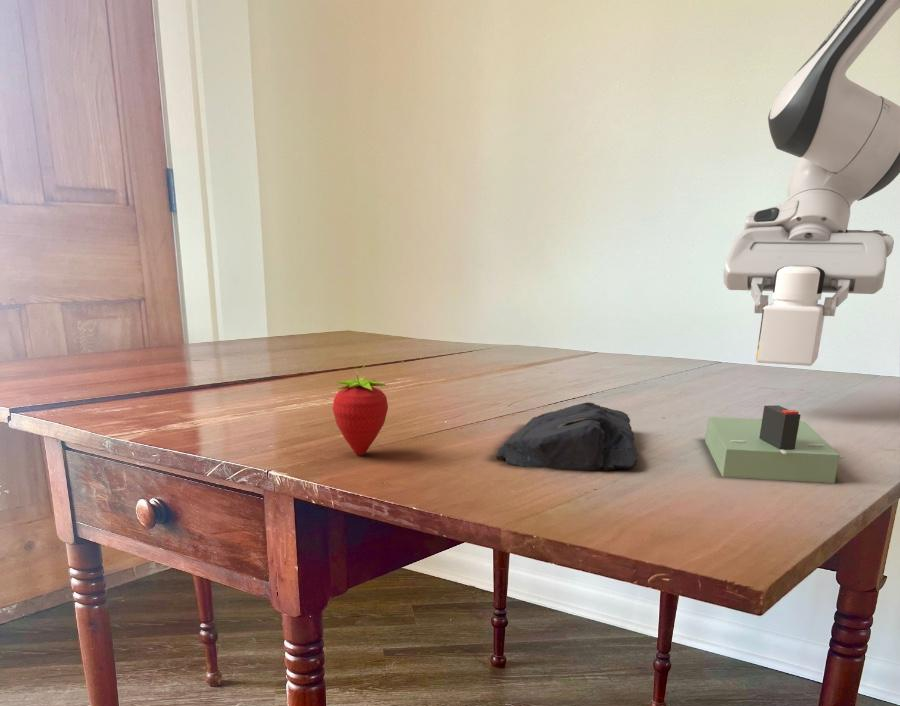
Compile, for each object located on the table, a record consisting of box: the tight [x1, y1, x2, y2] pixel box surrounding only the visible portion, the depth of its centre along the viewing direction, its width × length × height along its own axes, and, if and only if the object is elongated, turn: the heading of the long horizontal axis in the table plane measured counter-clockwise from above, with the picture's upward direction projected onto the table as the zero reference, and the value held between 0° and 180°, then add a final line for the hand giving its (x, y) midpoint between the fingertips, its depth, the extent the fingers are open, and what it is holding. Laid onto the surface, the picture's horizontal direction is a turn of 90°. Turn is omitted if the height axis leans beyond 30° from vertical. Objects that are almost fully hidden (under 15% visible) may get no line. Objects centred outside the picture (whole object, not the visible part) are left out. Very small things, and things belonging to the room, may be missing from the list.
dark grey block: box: [759, 404, 801, 449], centre depth 90 cm, size 5×2×4 cm, turn 5°
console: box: [704, 416, 841, 484], centre depth 95 cm, size 11×18×3 cm, turn 171°
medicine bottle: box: [755, 266, 825, 367], centre depth 114 cm, size 7×7×12 cm
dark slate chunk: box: [495, 401, 639, 472], centre depth 99 cm, size 15×22×5 cm
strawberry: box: [332, 363, 389, 457], centre depth 94 cm, size 6×8×10 cm
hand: (793, 311), depth 114 cm, fingers closed on medicine bottle, 7 cm apart
